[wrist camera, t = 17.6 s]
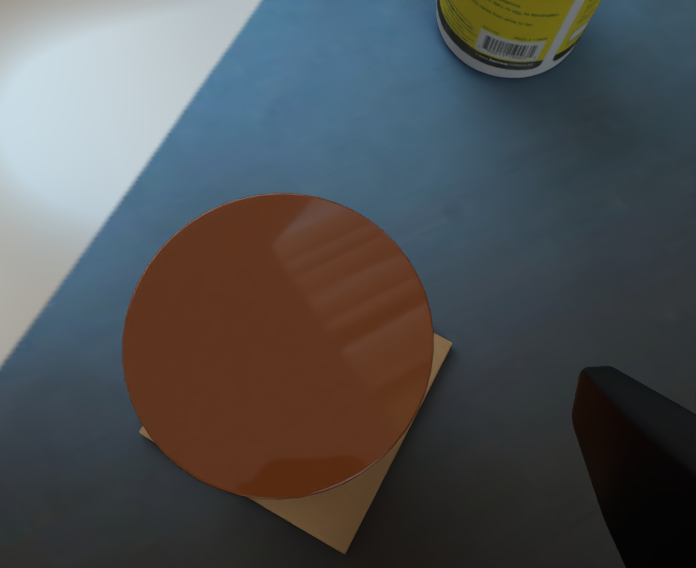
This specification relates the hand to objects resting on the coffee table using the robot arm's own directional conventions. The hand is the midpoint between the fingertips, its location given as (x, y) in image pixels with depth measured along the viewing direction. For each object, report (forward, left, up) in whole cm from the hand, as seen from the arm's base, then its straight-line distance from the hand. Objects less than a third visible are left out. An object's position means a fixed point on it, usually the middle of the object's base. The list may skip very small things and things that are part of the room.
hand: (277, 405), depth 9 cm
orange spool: (+2, -1, -13) cm, 13 cm away
